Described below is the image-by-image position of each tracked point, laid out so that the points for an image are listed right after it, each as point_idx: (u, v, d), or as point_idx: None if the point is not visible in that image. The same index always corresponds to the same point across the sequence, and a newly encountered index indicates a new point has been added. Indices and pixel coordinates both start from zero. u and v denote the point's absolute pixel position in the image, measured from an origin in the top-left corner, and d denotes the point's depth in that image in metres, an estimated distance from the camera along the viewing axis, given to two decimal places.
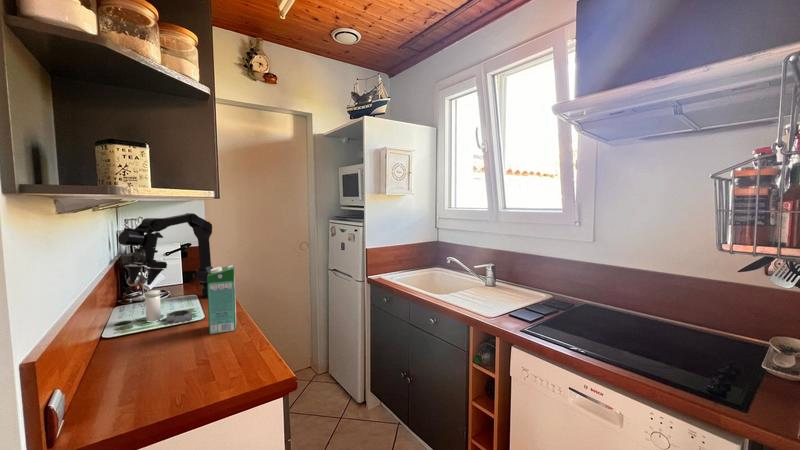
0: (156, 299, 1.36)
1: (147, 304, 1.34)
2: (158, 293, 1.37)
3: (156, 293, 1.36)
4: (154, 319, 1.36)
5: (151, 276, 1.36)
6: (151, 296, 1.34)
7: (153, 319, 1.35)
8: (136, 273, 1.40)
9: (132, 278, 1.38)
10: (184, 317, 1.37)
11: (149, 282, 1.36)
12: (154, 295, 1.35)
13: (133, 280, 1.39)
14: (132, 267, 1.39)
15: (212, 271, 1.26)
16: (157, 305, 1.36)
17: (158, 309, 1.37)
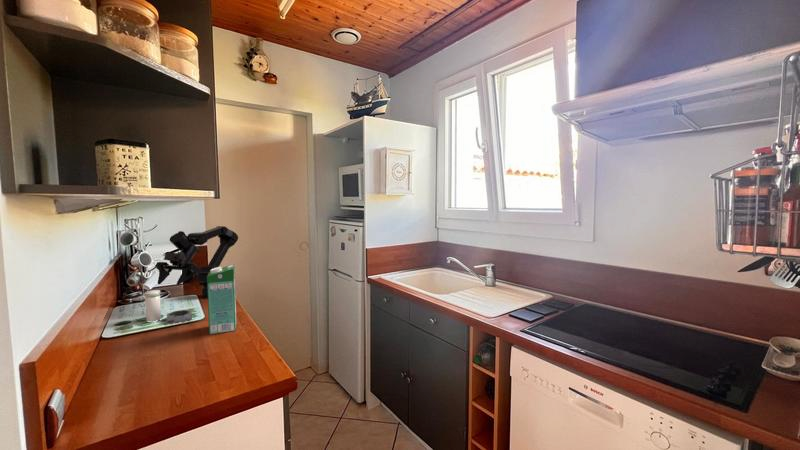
0: (156, 299, 1.36)
1: (147, 304, 1.34)
2: (158, 293, 1.37)
3: (156, 293, 1.36)
4: (154, 319, 1.36)
5: (183, 277, 1.46)
6: (151, 296, 1.34)
7: (153, 319, 1.35)
8: (164, 277, 1.48)
9: (160, 279, 1.46)
10: (184, 317, 1.37)
11: (179, 282, 1.44)
12: (154, 295, 1.35)
13: (160, 281, 1.46)
14: (164, 270, 1.48)
15: (212, 271, 1.26)
16: (157, 305, 1.36)
17: (158, 309, 1.37)
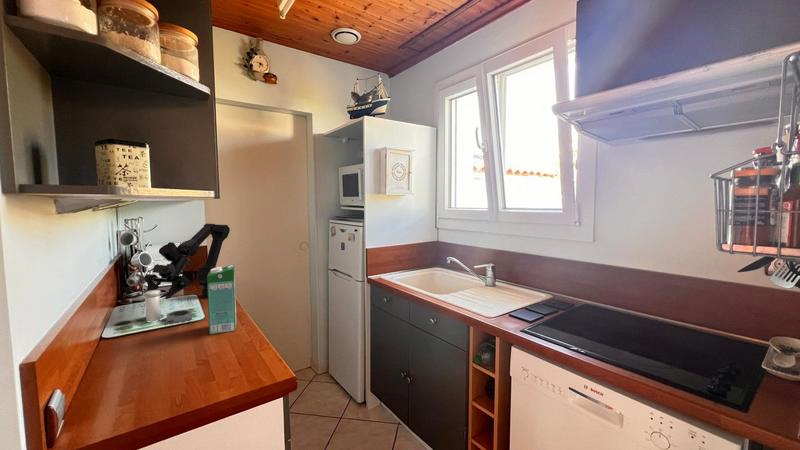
0: (156, 299, 1.36)
1: (147, 304, 1.34)
2: (158, 293, 1.37)
3: (156, 293, 1.36)
4: (154, 319, 1.36)
5: (172, 290, 1.40)
6: (151, 296, 1.34)
7: (153, 319, 1.35)
8: None
9: None
10: (184, 317, 1.37)
11: (168, 296, 1.38)
12: (154, 295, 1.35)
13: None
14: (153, 283, 1.43)
15: (212, 271, 1.26)
16: (157, 305, 1.36)
17: (158, 309, 1.37)
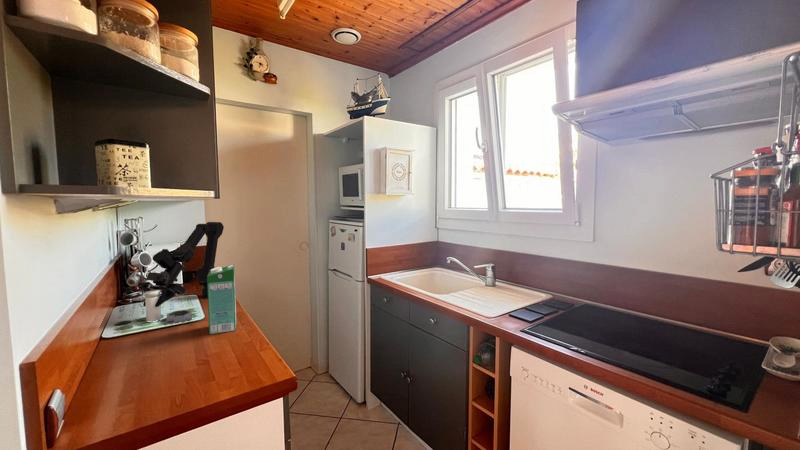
0: (156, 299, 1.36)
1: (147, 304, 1.34)
2: (158, 293, 1.37)
3: (156, 293, 1.36)
4: (154, 319, 1.36)
5: (162, 298, 1.37)
6: (151, 296, 1.34)
7: (153, 319, 1.35)
8: None
9: None
10: (184, 317, 1.37)
11: (157, 304, 1.36)
12: (154, 295, 1.35)
13: None
14: None
15: (212, 271, 1.26)
16: None
17: (158, 309, 1.37)
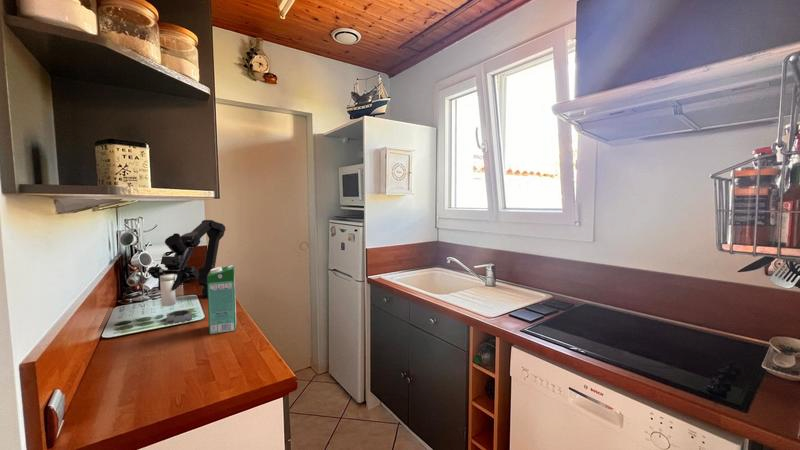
0: (172, 282, 1.36)
1: (163, 288, 1.34)
2: (173, 277, 1.37)
3: (172, 276, 1.36)
4: (170, 302, 1.36)
5: (178, 281, 1.38)
6: (167, 280, 1.35)
7: (169, 303, 1.36)
8: None
9: None
10: (184, 317, 1.37)
11: (174, 287, 1.36)
12: (170, 278, 1.35)
13: None
14: None
15: (212, 271, 1.26)
16: None
17: (174, 293, 1.37)
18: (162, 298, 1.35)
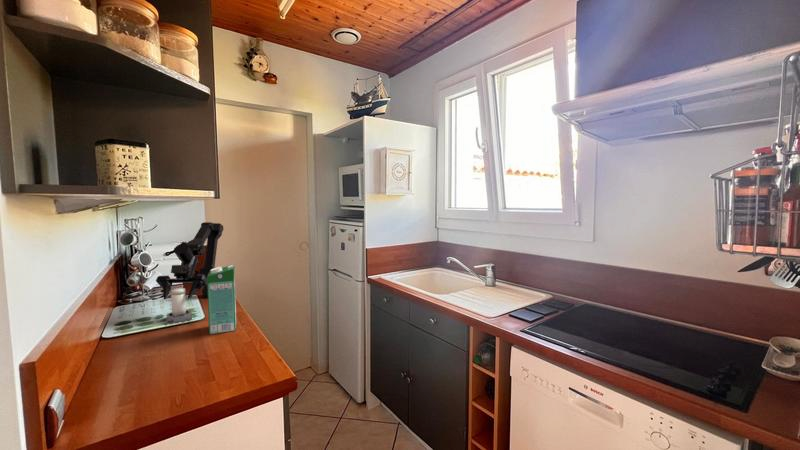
0: (184, 296, 1.38)
1: (175, 302, 1.36)
2: None
3: (183, 290, 1.38)
4: None
5: (194, 289, 1.40)
6: (179, 294, 1.36)
7: None
8: (168, 291, 1.39)
9: (166, 294, 1.37)
10: (184, 317, 1.37)
11: (190, 295, 1.38)
12: (182, 292, 1.37)
13: (166, 296, 1.37)
14: (167, 284, 1.39)
15: (212, 271, 1.26)
16: (184, 302, 1.39)
17: (185, 306, 1.39)
18: (174, 312, 1.36)
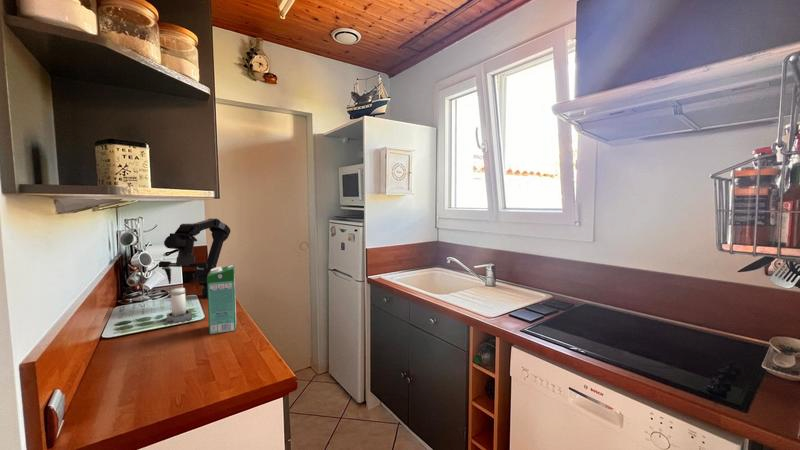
0: (183, 296, 1.38)
1: (175, 302, 1.36)
2: (184, 290, 1.39)
3: (183, 290, 1.38)
4: None
5: (197, 276, 1.53)
6: (179, 294, 1.36)
7: None
8: (170, 274, 1.50)
9: (170, 279, 1.48)
10: (184, 317, 1.37)
11: (194, 282, 1.53)
12: (182, 292, 1.37)
13: (170, 281, 1.49)
14: (170, 269, 1.48)
15: (212, 271, 1.26)
16: (184, 302, 1.39)
17: (185, 306, 1.39)
18: (173, 312, 1.36)
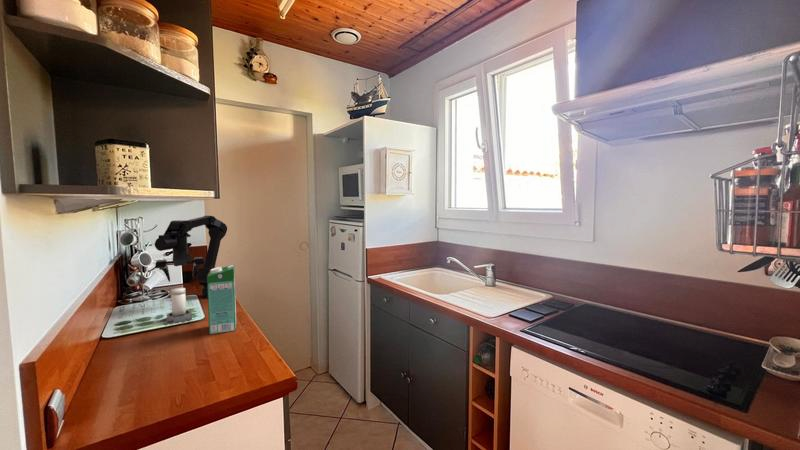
0: (184, 296, 1.38)
1: (175, 302, 1.36)
2: None
3: (183, 290, 1.38)
4: None
5: (195, 271, 1.55)
6: (179, 294, 1.36)
7: None
8: (168, 272, 1.51)
9: (169, 277, 1.50)
10: (184, 317, 1.37)
11: None
12: (182, 292, 1.37)
13: (169, 279, 1.50)
14: (167, 268, 1.49)
15: (212, 271, 1.26)
16: (184, 302, 1.39)
17: (185, 306, 1.39)
18: (174, 312, 1.36)
